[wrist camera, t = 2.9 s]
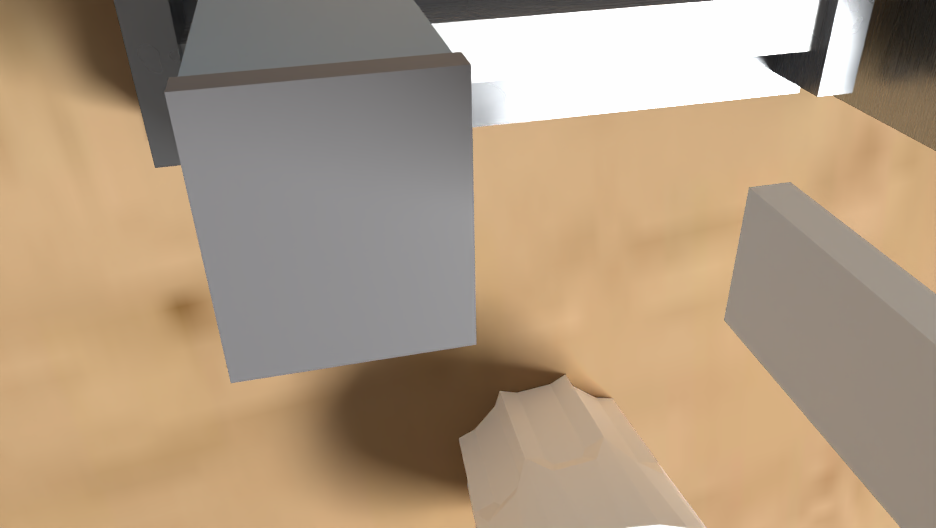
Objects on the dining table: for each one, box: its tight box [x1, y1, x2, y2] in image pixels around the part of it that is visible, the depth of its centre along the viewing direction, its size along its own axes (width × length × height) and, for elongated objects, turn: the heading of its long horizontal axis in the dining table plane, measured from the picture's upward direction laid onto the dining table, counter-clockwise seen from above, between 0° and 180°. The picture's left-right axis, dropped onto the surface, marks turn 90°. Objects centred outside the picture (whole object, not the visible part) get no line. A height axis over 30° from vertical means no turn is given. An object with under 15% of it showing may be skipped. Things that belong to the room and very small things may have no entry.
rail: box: [114, 0, 875, 168], centre depth 27 cm, size 24×7×4 cm, turn 91°
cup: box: [459, 374, 706, 528], centre depth 36 cm, size 10×10×10 cm
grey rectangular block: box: [164, 0, 476, 383], centre depth 21 cm, size 5×6×13 cm
